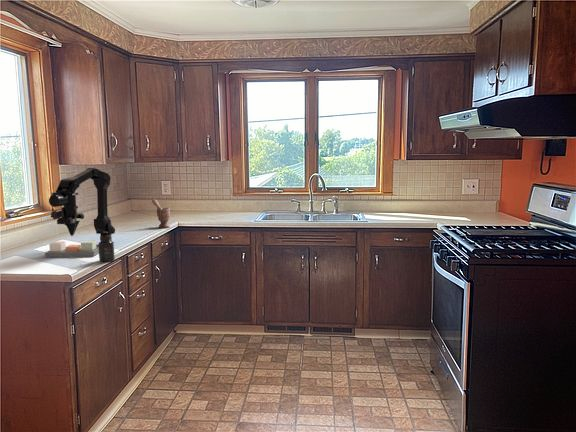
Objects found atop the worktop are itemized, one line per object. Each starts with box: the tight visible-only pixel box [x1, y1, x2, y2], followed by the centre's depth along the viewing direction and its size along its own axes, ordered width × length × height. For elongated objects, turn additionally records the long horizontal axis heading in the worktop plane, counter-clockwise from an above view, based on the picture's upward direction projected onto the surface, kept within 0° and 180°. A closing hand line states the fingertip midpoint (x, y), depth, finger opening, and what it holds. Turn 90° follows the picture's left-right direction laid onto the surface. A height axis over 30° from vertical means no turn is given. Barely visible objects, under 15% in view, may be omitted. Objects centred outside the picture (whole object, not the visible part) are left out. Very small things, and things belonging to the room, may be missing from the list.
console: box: [44, 246, 99, 259], centre depth 222 cm, size 10×23×2 cm, turn 95°
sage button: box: [80, 240, 97, 251], centre depth 222 cm, size 5×5×4 cm
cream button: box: [48, 240, 67, 252], centre depth 221 cm, size 5×5×4 cm
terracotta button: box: [65, 244, 81, 251], centre depth 222 cm, size 5×5×4 cm
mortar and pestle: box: [151, 198, 171, 229], centre depth 297 cm, size 12×9×20 cm
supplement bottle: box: [97, 235, 116, 263], centre depth 210 cm, size 7×7×12 cm
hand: (72, 235), depth 221 cm, fingers closed
